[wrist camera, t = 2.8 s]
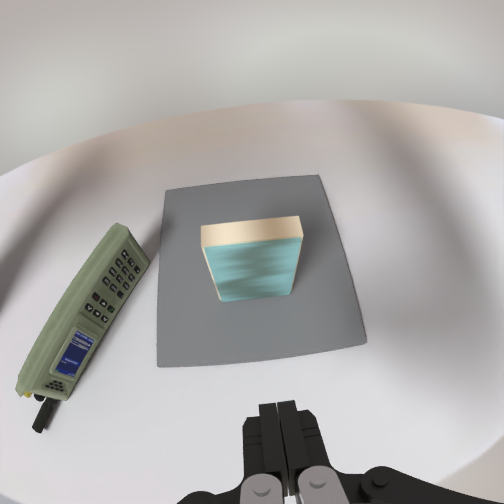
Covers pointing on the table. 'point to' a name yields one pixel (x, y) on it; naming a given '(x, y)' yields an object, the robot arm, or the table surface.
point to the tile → (253, 257)
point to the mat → (261, 309)
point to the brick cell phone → (81, 320)
